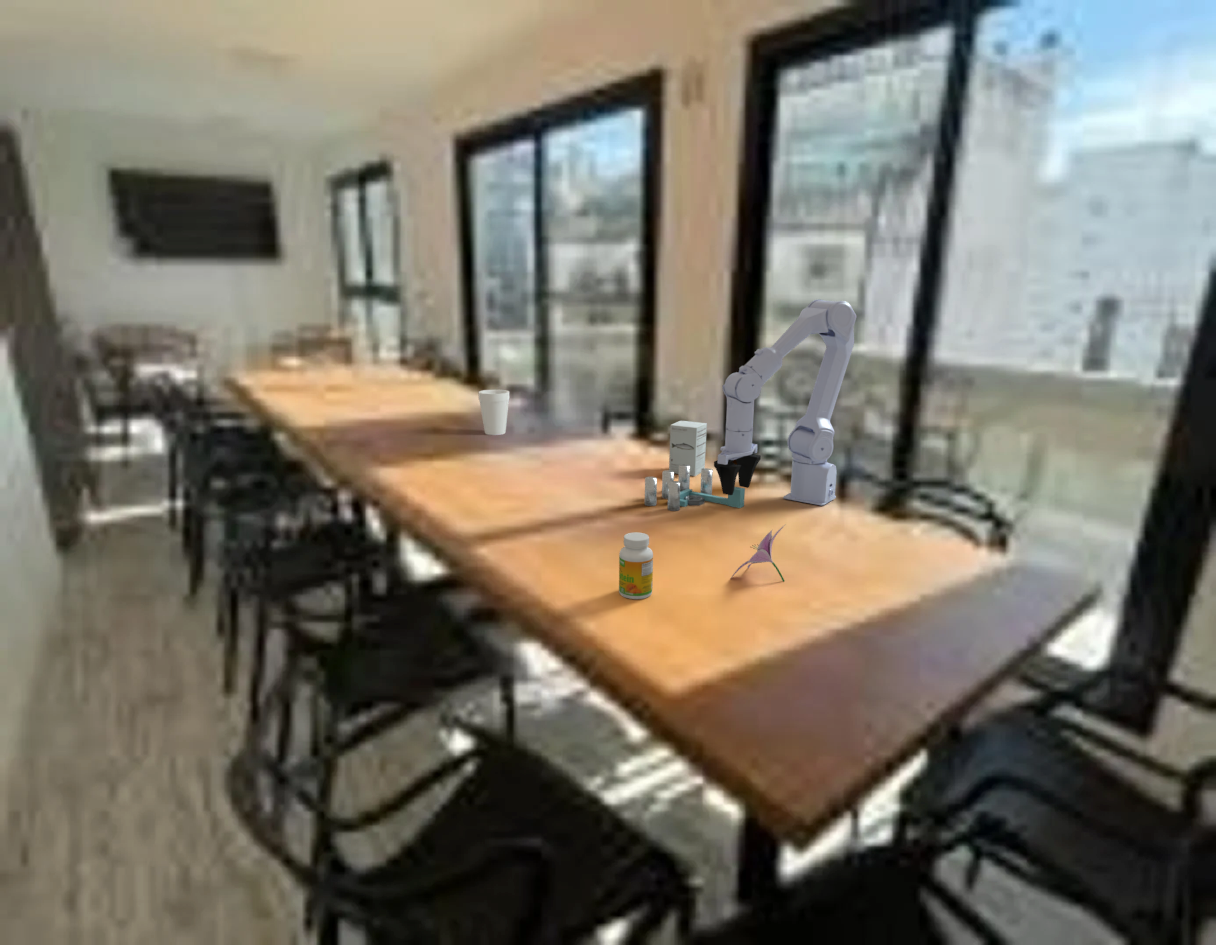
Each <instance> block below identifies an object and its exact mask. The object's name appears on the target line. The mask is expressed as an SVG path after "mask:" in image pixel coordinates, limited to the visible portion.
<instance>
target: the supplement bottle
mask: <svg viewBox="0 0 1216 945" xmlns="http://www.w3.org/2000/svg"><path fill="white" fill-rule="evenodd" d="M649 545H650V535H649V534H647V533H644V532H643V533H642V532H629V533H626V534H624V535H623V546H624V547H622V548H621V549H620V550H619V554H618V557H619V558H618V560H619V561H618V564H619V565H618V568H619V569H618V579H619V580H618V593H619V595H621V596H622V597H623V598H626V599H628V600H629V599H630V600H643V599H647V598H649V597H651V595H652V593H653V577H654V574H653V573H654V571H653V570H654V568H653V567H654V552H653V550H652V549H651V548H650V547H649Z"/></svg>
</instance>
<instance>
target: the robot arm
mask: <svg viewBox="0 0 1216 945" xmlns="http://www.w3.org/2000/svg"><path fill="white" fill-rule="evenodd" d="M856 320H857V314H856V312H855V311H854V309H853V306H852V305H851V304H850V303H849V302H848V301H846V300H824V299H820V298H819V299H817V298H816V299H814V300H812V301H810V302H809V303H808V305H807V306H806V307H804V308H803V309H802V310H801V311H800V314H799V316H798V317H797V319H796V320H794V322H793V323H792V324H790V326H789V327H788V328H787V329H786V330H785V331H784V333H783V334H782V335H781V336H780V337H779V338H778V339H777V340H776V341H775V342H774V343H773V345H771V346H769V347H767V346H766V347H765V346H763V347H761V348H757V349H756V351H754V356H753V357H751V358H750V359H749V360H748V361H747V362H746V363H745V364H744V365H741V366H740V367H739V368H738V369H739V370H738V372H737V371H736V372H733V373H731V374H729V375H728V376H727V378H725V381H724V384H723V385H722V391H723V394H724V395H725V397H726V418H725V419H726V420H725V442H724V446H720V449H719V451H721V452H720V453H719V454H717V460H714V462H713V467H714V469H715V470H716V472H717V476H718V478H719V481H720V486H721V490H722V494H723V495H727V496H728V495H733V492H734V487H736V481H737V476H738V486H739V487H740V488H750V485H751V481H752V478H753V475H754V473H755V470H756V467H757V466H758V464H759V462H760V460H761V458H762V457H761V455H760V454H757V453H758V443H753V435H754V434H753V433H754V412H755V411H754V410H755V401H756V399H758V398H759V397H760V396H761V391H762V387H763V386H764V385H765V384H766V383H767V382H768V381H769V379H771V378H772V377H773V376H774V374H776V373H777V372H779V370H780V369H782V366H783V360H784V358H785V357H786V356H787V355H788V354H790V352H792V351H793V350H794V349H795V348H796V347H798V346H799V345H800V344H801V343H802V342H804V341H805V340H806V339H807V338H808V337H809V336H810V335H819V336H820V337H821V339H822V341H823V342H824V344H825V346H826V348H825V351H824V354H823V356H822V361H821V363H820V366H819V369H818V373H817V376H816V379H815V383H814V386H813V388H812V392H811V395H810V398H809V403H808V405H807V407H806V408H807V409H806V412H805V414H804V415H803V416H802V417H800V418H799V419H798V420H797V421H796V423H795V425H794V428H793V429H792V431H791V432H790V433H789V435H788V437H787V442H786V444H787V447H788V450H789V452H791V458H792V461H791V462H792V464H791V476H790V477H791V479H790V480H791V481H790V492H789V493H788V494H785V495H784V496H783V499H784V500H790V501H795V502H801V503H805V504H806V503H807V504H811V505H817V506H820V507H821V506H825V505H826V504H828V503H830V502H831V501H833V500H835V499H836V498H837V496H836V485H837V484H836V483H837V472H838V471H837V466H836V464H833V463H830V462H828V460H829V459H830V457H831V456H832V454H833V452H834V436H835V434H836V432H835V429H834V427H833V425H832V423H831V419H832V415H833V413H834V409H835V407H836V403H837V400H838V396H839V394H840V390H841V387H842V383H843V381H844V377H845V375H846V372H847V371H846V370H847V368H848V365H849V362H850V359H851V355H852V352H853V349H854V344H855V330H854V328H855V323H856ZM733 461H736V463H734V462H733Z"/></svg>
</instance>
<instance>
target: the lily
mask: <svg viewBox="0 0 1216 945" xmlns="http://www.w3.org/2000/svg"><path fill="white" fill-rule="evenodd" d="M786 525H787V524H784V525H782V526H781V528H779V529H778V530H777V531H776V532H775V533H774V535H773V534H772V533H773V532H772V531H773V529H771V530H769V532H768V533H767V534H766V535H765V536H764V538H763V539H761V541H760V543H757V545H756V544H754V543H753V544H754V545H753V544H751V546H750V548H753V549H754V550H757V551H756V552H755V553H754V554H753V555H752V556H751V557H750V558H749V559H748V560H747V561H745V562H744V563H742V564H740V566H739V567H738V568H737V569H736V570H735V571H734V572H733V574H732V575H731V577H730V578H729V579H732V578H733V577H734V575H736V573H737V572H738V571H739V570H741V569H742V568H743V567H744V566H746V565H747V569H749V568H750V567H751V566H752V564H760V563H761V564H762V563H770V564H771V565H773V567H774V568H775V569H776V571H777V573H778V575H779V576H780V579H781V580H782V582H783V583H784V582H785V581H786V580H785V578H784V577H783V575H782V573H781V571H780V570H779V568H778V566H777V564H775V562H774V561H773V558H772V548H773V547H772V546H773V543H774V540H775V538H776V537H777V535H778V534H779V533H780V532H781V531H782V529H783V528H784V527H785V526H786Z"/></svg>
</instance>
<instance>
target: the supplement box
mask: <svg viewBox="0 0 1216 945" xmlns="http://www.w3.org/2000/svg"><path fill="white" fill-rule="evenodd" d="M707 427H708V423H707V422H698V421H691V420H679V421H676V422H674V423H672V424H670V427H669V429H670V431H669V432H670V435H669V456H668V457H669V459H668V460H669V462H668V464H669V465H668V470H670V471H674V474H677V475H679V465H682V464H686V465H690V477H697V476H698V475H699V474H700V475H701V469H703V468H706V467H705V466H706V454H707V453H706V450H707V431H708V430H707V429H708V428H707Z"/></svg>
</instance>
